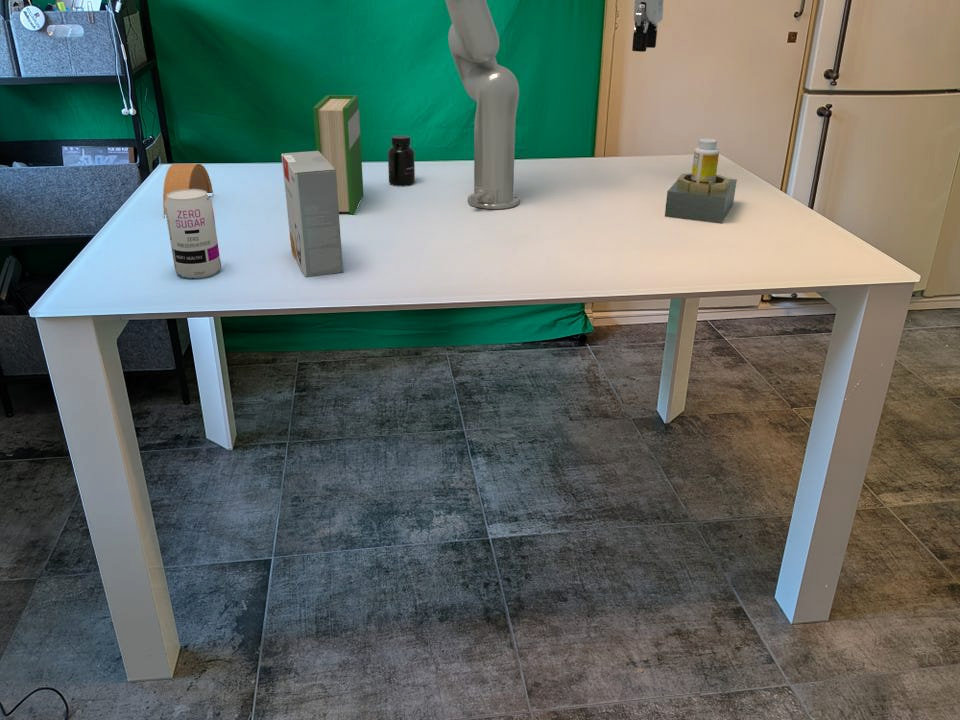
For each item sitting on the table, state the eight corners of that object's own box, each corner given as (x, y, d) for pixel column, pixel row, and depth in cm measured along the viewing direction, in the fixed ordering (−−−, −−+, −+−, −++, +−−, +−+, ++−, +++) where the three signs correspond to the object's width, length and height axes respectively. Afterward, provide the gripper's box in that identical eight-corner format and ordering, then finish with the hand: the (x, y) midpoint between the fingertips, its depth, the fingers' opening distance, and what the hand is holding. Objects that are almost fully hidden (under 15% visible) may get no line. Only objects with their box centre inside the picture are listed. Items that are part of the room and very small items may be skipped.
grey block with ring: (721, 223, 185) (726, 191, 182) (664, 216, 190) (668, 184, 186) (735, 199, 203) (740, 169, 200) (683, 193, 208) (686, 164, 205)
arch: (214, 195, 203) (208, 155, 199) (189, 219, 185) (182, 175, 181) (190, 195, 203) (184, 155, 199) (163, 219, 185) (156, 175, 181)
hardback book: (353, 215, 189) (347, 108, 178) (321, 215, 189) (313, 107, 178) (363, 195, 204) (358, 95, 194) (333, 194, 204) (326, 95, 194)
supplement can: (207, 261, 160) (195, 185, 153) (229, 272, 155) (219, 194, 148) (168, 272, 154) (154, 193, 148) (190, 283, 149) (177, 202, 143)
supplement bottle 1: (413, 186, 212) (412, 139, 207) (387, 186, 212) (385, 139, 207) (416, 180, 218) (414, 134, 213) (390, 179, 218) (388, 134, 213)
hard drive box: (290, 252, 165) (280, 152, 156) (328, 248, 168) (320, 150, 159) (304, 278, 152) (294, 171, 143) (344, 273, 155) (337, 167, 146)
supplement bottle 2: (719, 184, 192) (725, 140, 188) (706, 188, 189) (712, 143, 184) (698, 179, 196) (704, 136, 191) (685, 183, 192) (691, 139, 188)
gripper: (659, -30, 178) (651, 53, 185) (675, -31, 192) (667, 46, 200) (625, -31, 180) (619, 52, 188) (643, -32, 195) (637, 45, 202)
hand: (643, 49), depth 194 cm, fingers open, 9 cm apart
